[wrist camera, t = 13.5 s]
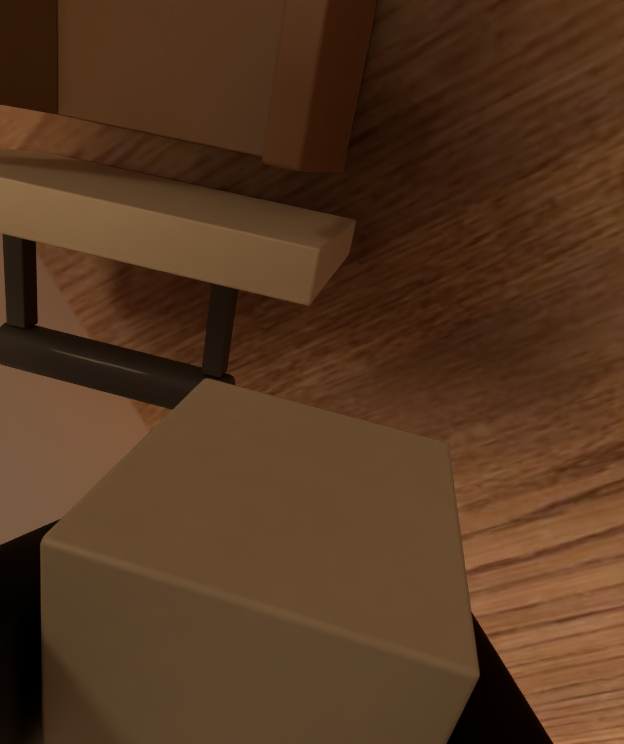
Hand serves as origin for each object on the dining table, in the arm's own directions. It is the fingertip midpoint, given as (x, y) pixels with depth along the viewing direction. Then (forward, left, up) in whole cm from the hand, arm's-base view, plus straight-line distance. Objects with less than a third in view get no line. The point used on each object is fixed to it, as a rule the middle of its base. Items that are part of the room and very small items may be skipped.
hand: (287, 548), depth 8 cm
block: (0, 0, -1) cm, 1 cm away
